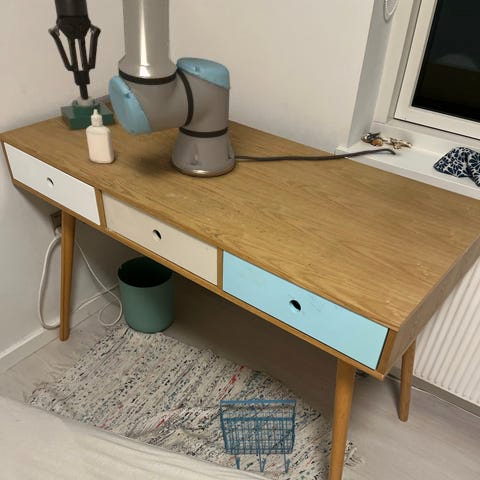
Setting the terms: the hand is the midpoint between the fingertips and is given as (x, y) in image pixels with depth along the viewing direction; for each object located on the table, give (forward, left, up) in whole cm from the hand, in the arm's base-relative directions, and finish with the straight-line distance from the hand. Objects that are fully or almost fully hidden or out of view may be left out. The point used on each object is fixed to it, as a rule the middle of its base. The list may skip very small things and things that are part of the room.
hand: (84, 97), depth 138 cm
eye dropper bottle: (+4, +27, -7) cm, 28 cm away
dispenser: (0, 0, -6) cm, 6 cm away
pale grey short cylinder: (0, 0, -2) cm, 2 cm away
